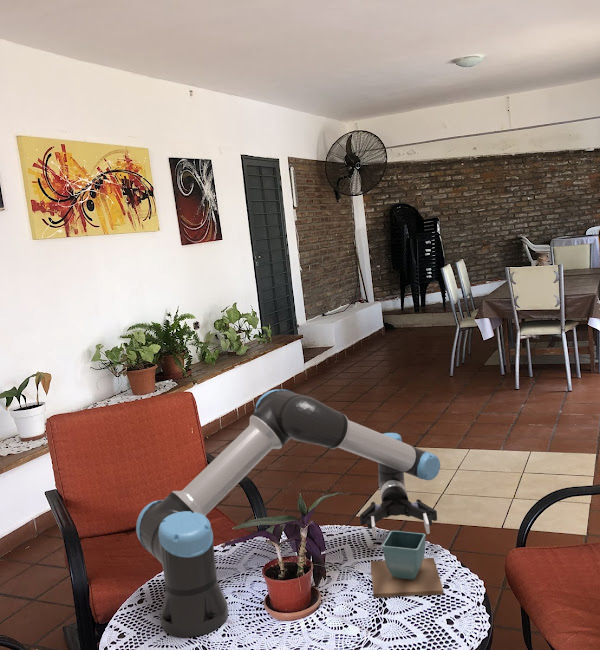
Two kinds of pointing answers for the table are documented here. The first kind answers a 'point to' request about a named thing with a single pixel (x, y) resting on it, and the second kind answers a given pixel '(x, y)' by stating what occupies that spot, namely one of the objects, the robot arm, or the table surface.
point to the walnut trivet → (406, 581)
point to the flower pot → (404, 553)
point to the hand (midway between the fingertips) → (400, 530)
